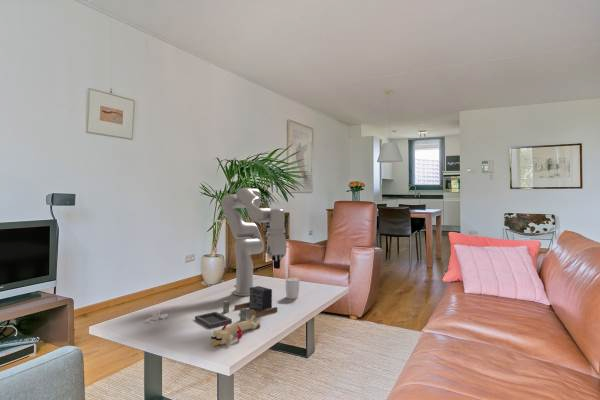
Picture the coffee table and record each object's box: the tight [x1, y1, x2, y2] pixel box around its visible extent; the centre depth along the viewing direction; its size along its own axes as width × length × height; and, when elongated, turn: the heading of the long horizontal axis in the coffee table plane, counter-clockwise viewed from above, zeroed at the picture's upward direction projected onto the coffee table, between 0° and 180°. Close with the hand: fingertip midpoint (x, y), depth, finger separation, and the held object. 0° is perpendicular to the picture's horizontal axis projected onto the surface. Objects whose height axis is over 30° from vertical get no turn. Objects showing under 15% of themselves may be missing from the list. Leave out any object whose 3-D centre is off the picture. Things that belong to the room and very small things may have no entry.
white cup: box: [285, 277, 301, 300], centre depth 196 cm, size 8×8×10 cm
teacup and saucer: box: [146, 310, 169, 324], centre depth 159 cm, size 9×8×4 cm
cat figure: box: [210, 309, 261, 347], centre depth 140 cm, size 10×9×25 cm
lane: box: [222, 300, 278, 322], centre depth 170 cm, size 17×20×5 cm
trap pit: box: [194, 311, 233, 329], centre depth 157 cm, size 14×10×2 cm
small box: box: [248, 285, 273, 312], centre depth 174 cm, size 11×6×10 cm, turn 47°
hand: (276, 268), depth 181 cm, fingers closed
